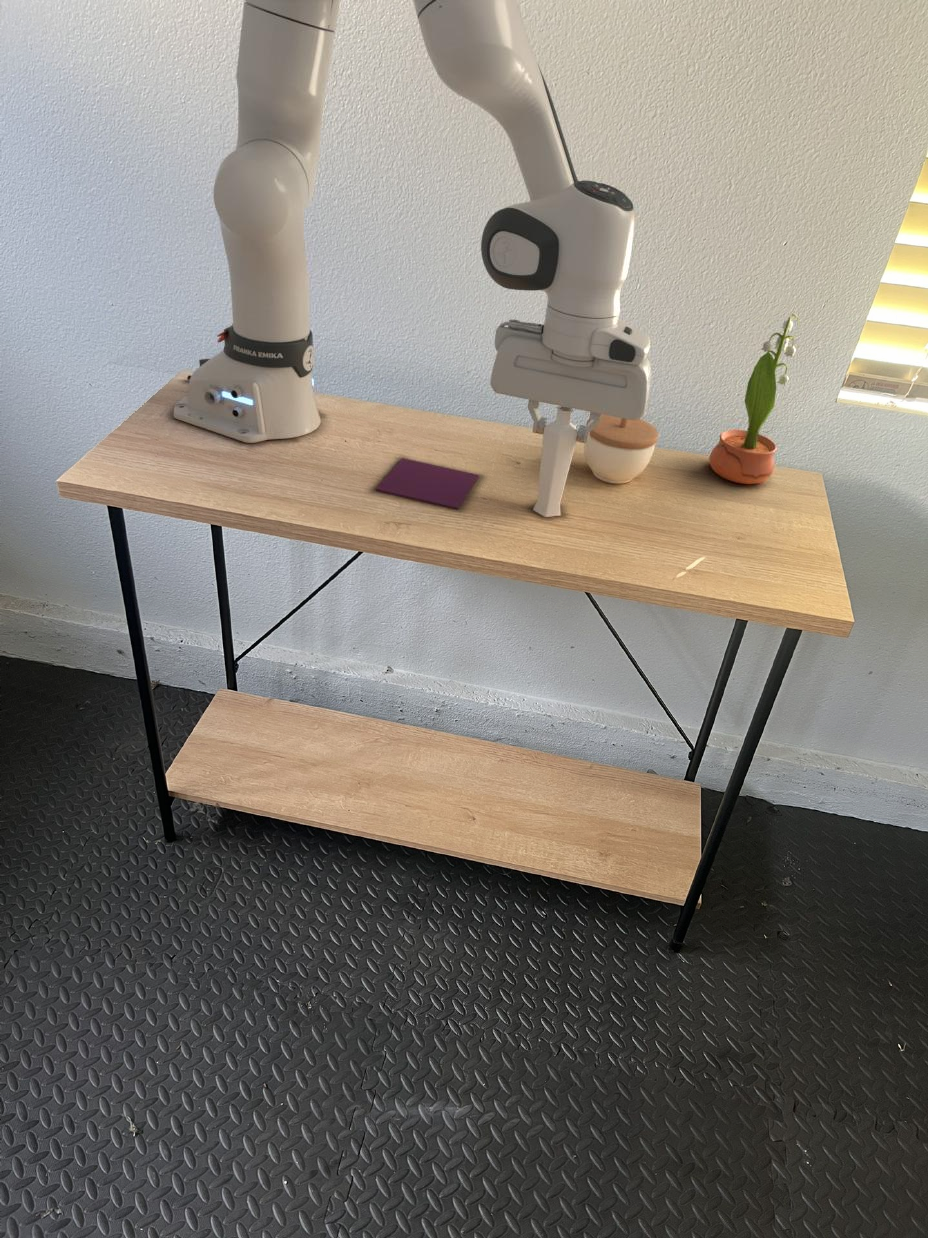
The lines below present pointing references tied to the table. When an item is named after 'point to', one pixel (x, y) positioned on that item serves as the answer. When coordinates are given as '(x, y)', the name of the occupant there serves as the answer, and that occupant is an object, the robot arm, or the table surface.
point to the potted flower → (754, 421)
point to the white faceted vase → (555, 462)
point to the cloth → (428, 483)
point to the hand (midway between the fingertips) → (560, 436)
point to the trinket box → (619, 448)
